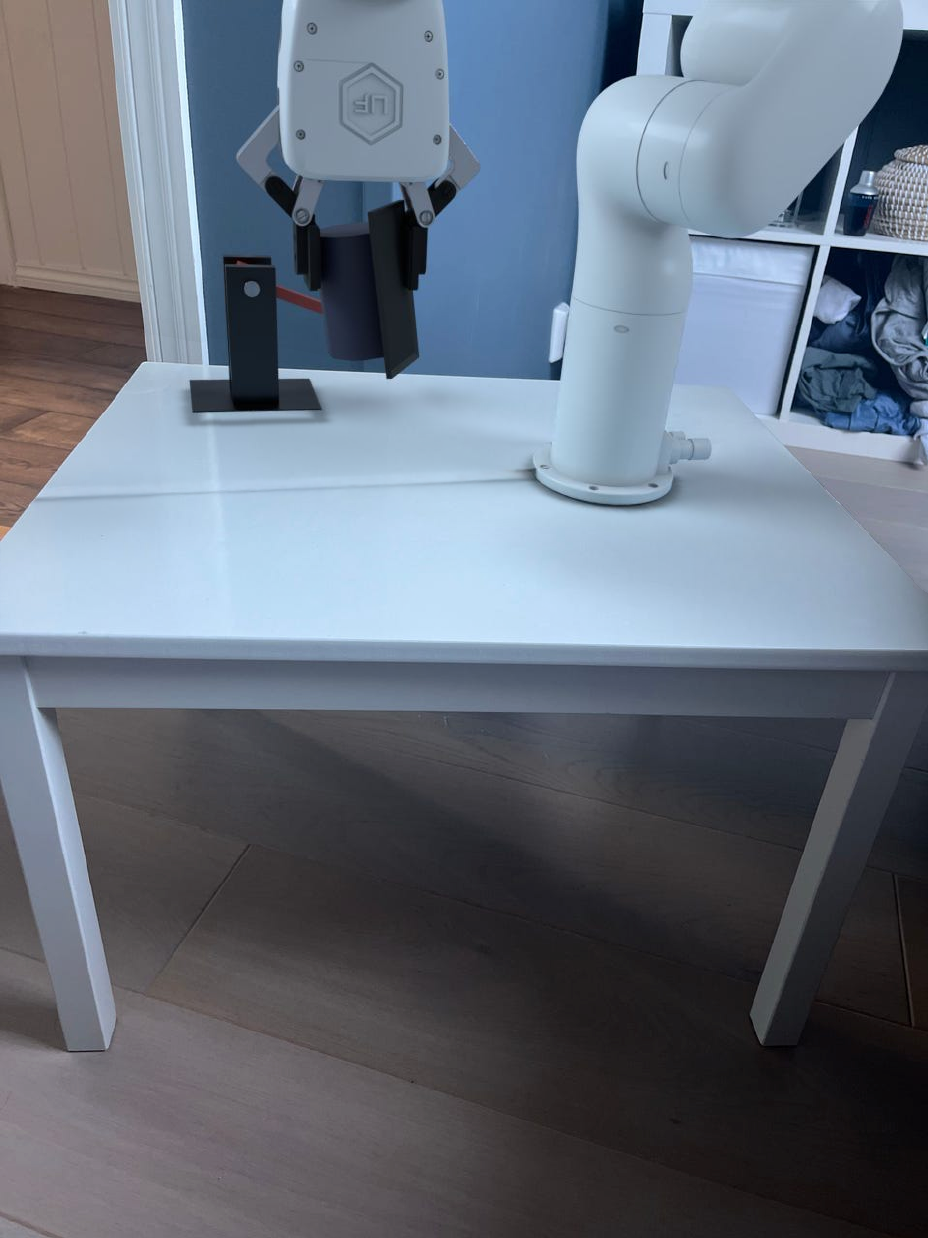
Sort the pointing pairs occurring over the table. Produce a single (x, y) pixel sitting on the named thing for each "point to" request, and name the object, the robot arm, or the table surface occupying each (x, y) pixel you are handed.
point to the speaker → (368, 291)
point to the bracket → (251, 347)
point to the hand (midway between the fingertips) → (360, 283)
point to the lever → (296, 297)
